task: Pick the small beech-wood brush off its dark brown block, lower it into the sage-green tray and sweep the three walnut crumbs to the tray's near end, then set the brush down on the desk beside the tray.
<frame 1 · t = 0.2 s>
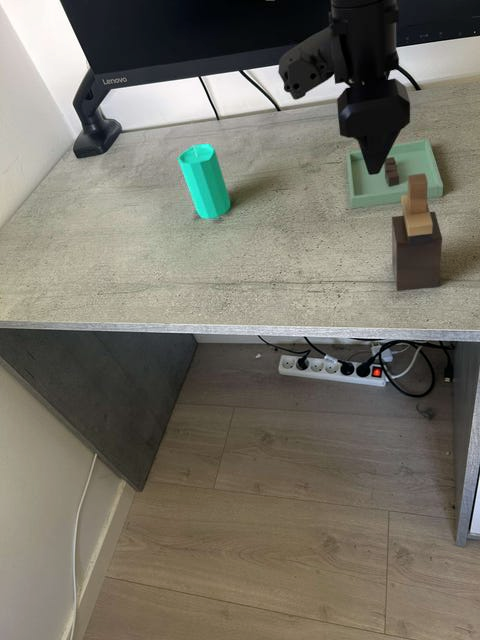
hand: (370, 151, 55), 16 cm above the table, tool pointing down, fingers open, 9 cm apart
dark brown block: (414, 275, 63), on the table
candle: (214, 208, 84), on the table
crumb a: (392, 183, 76), resting on tray
tray: (391, 178, 78), on the table
crumb c: (389, 168, 79), resting on tray
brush: (416, 226, 58), point 8 cm above the table, touching dark brown block
crumb b: (391, 175, 78), resting on tray
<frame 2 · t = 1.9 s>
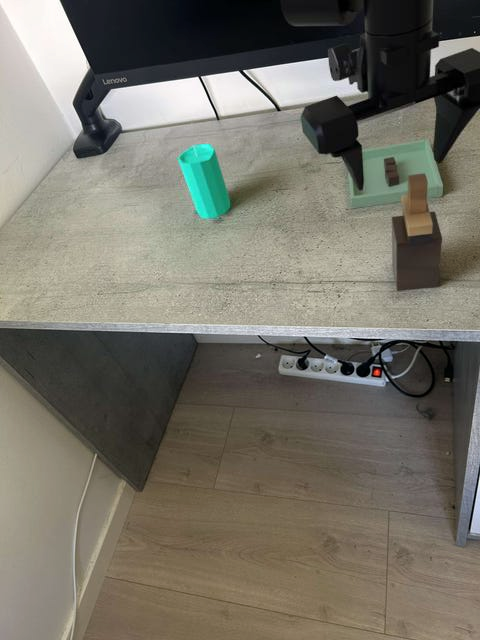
hand: (398, 175, 55), 14 cm above the table, tool pointing down, fingers open, 9 cm apart
nothing on the table moved.
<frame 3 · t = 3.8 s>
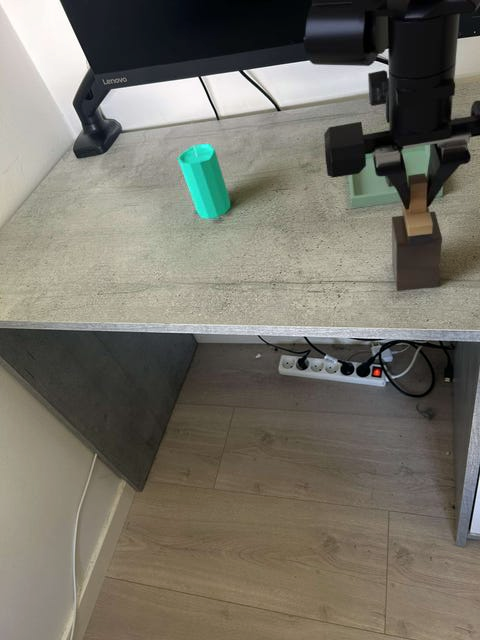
hand: (416, 206, 55), 11 cm above the table, tool pointing down, fingers closed on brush, 2 cm apart
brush: (416, 226, 58), point 8 cm above the table, touching dark brown block, gripper
everything else where it was.
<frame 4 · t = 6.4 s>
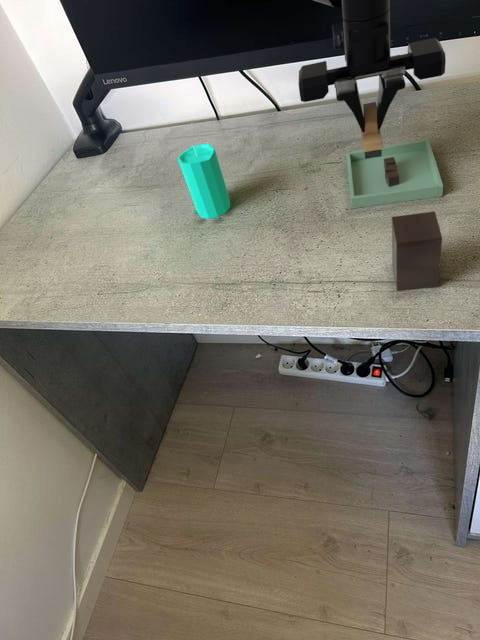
hand: (371, 129, 72), 9 cm above the table, tool pointing down, fingers closed on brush, 2 cm apart
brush: (371, 147, 74), point 6 cm above the table, touching gripper
everything else where it was.
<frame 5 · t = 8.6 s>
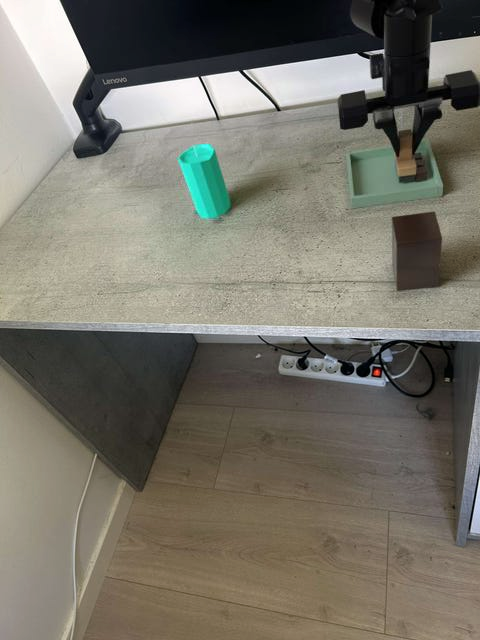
hand: (405, 154, 75), 4 cm above the table, tool pointing down, fingers closed on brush, 2 cm apart
crumb a: (420, 178, 76), resting on tray, touching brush
crumb c: (416, 164, 78), resting on tray, touching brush
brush: (404, 171, 77), point 1 cm above the table, touching crumb a, crumb b, crumb c, gripper
crumb b: (418, 171, 77), resting on tray, touching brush
everything else where it was.
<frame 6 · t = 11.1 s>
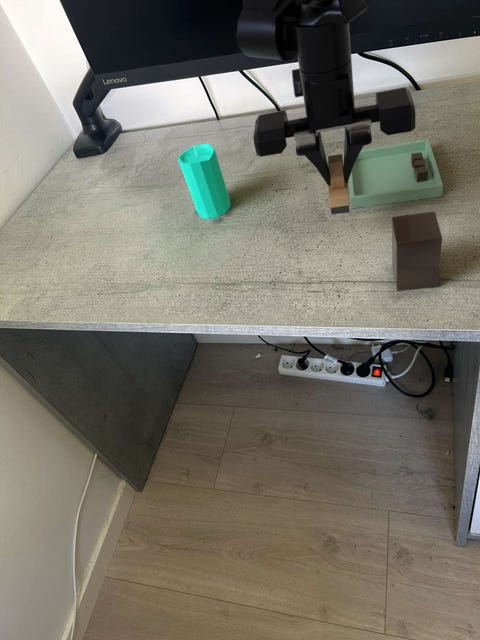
hand: (337, 182, 65), 9 cm above the table, tool pointing down, fingers closed on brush
crumb a: (421, 178, 75), resting on tray
crumb c: (416, 164, 78), resting on tray
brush: (339, 200, 67), point 6 cm above the table, touching gripper
crumb b: (419, 171, 77), resting on tray
everything else where it was.
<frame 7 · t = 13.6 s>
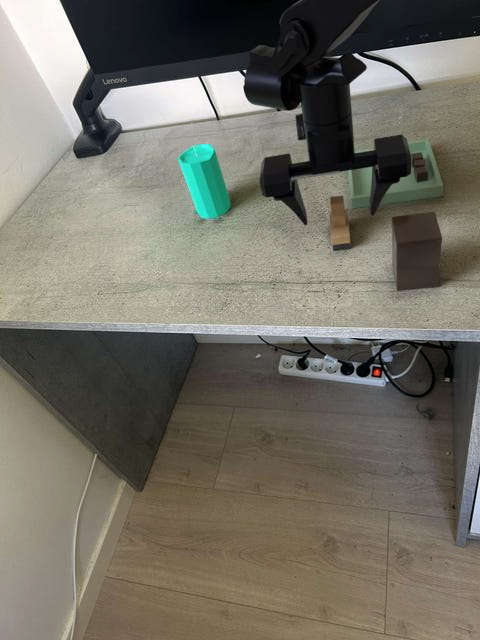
hand: (338, 218, 69), 3 cm above the table, tool pointing down, fingers open, 9 cm apart
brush: (340, 237, 72), on the table
everything else where it was.
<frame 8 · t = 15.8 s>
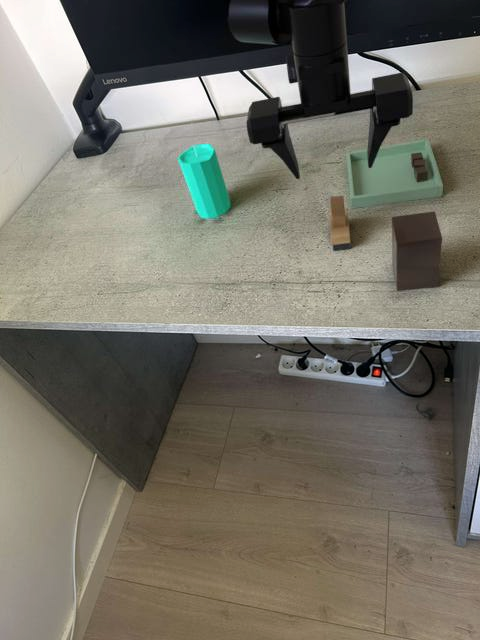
hand: (333, 171, 64), 11 cm above the table, tool pointing down, fingers open, 9 cm apart
nothing on the table moved.
at the end: crumb a inside the target area in the tray (2.0 cm from its centre), point 0.4 cm above the tray's base; crumb b inside the target area in the tray (0.3 cm from its centre), point 0.4 cm above the tray's base; crumb c inside the target area in the tray (2.1 cm from its centre), point 0.4 cm above the tray's base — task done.
